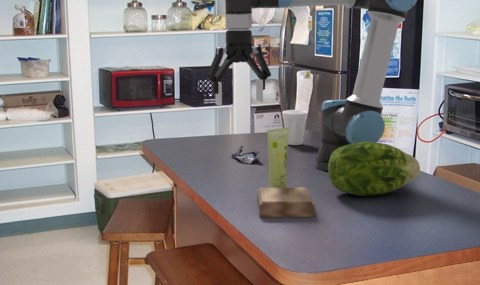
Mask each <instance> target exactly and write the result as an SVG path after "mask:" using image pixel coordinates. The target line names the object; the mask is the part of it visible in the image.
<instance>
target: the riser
mask: <svg viewBox="0 0 480 285" xmlns="http://www.w3.org/2000/svg"><path fill="white" fill-rule="evenodd" d="M256 190H257V193H256V194H257V196H256V197H257V199H256V200H257V208H258V213H259V214H258V215H259V218H313V217H314V215H315V214H314V213H315V212H314V211H315V203H314V201H313V198H312V196H311V194H310V192H309V190H308V188H306V187H300V186H299V187H295V186H294V187H286V188H269V187H259V188H257V189H256Z"/></svg>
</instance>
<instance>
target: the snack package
mask: <svg viewBox="0 0 480 285" xmlns="http://www.w3.org/2000/svg"><path fill="white" fill-rule="evenodd" d="M243 148H244V146H243V145H241V146H240V147H239V148H238V150H237V152H235V153H234V154H233V153H231V158H232V159H236V160H239V161H241V162H242V163H244V162H245V161H243V160H242V159H239V158H248V159H250V160H251V161H250V160H249V161H250V162H249V161H248V162H247V164H248V165H251V164H252V163H253V162H254V161H255V160H256V158H257V157H258V156H259V154H260V152H261V150H259V151H257V150H255V151H250V152H245V153H242V152H243ZM241 153H242V154H241ZM248 159H247V160H248Z"/></svg>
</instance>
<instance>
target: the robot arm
mask: <svg viewBox="0 0 480 285" xmlns="http://www.w3.org/2000/svg"><path fill="white" fill-rule="evenodd" d="M224 2H225V4H224V5H225V6H224V7H225V15H224V16H225V29H227V30H226V31H225V47H224V48H223V47H219V46H218V47H216V48H215V55H214V57H213V60H212V62H211V65H210V68H209V70H208V71H207V74H206V77H205V79H206V81H209V82H211V84H212V93H213V94H214V96H215V98H214V99H215V102H214V103H215V105H217V106H220V107H221V106H223V92H222V91H223V90H222V88H223V86H222V85H223V84H222V82H220V81H221V80H222V78H223V77H224V76H225V74H226V73H227V71H228V69H229V68H230V67H231V65H233V63H237V64H238V63H246V64H247V65H248V66H249V67H250V69H251V70H252V71H253V72H254V74H255V75H256V76H257V77H258V78H255V79H256V81H255V83H256V84H255V91H256V93H255V98H256V102H259V103H261V102H264V91H265V90H266V81H267V79H268V78H270V77H271V76H272V73H271V71H270V68H269V65H268V64H267V62H266V60H265V57H264V55H263V50H262V46H260V45H254V46H252V42H253V33H252V30H251V29H252V27H253V20H252V19H253V18H252V17H253V16H252V14H253V10H252V9H284V8H285V9H286V8H293V7H297V8H298V7H299V8H300V7H323V6H325V7H326V6H328V7H329V6H345V7H346V8H347V9H363V10H367V14H368V16H369V18H370V21H369V27H368V29H367V34H366V38H365V42H364V46H363V50H362V53H361V54H362V55H361V58H360V63H359V67H358V70H357V74H356V79H355V83H354V88H353V90H352V94H351V95H349V96H348V97H347V98H346V99H330V100H329V99H328V100H324V101H323V102H322V104H321V105H322V106H321V110H320V112H321V123H320V124H321V126H320V130H321V131H320V132H321V133H320V146H319V149H318V151H317V154H316V157H315V162H314V163H315V164H314V166H315V167H316V168H317V169H319V170H323V171H326V172H328V164H329V160H330V157H331V155H332V153H333V152H334V151H335V150H336V149H338V148H339V147H343V146H346V145H349V144H353V143H357V142H375V143H379V142H378V141H380V140H381V139H382V137H383V135H384V133H385V129H386V128H385V127H386V124H385V123H386V122H385V120H384V118H383V116H382V113H383V109H384V106H383V104H382V103H381V96H382V92H383V88H384V84H385V81H386V77H387V72H388V68H389V65H390V61H391V56H392V53H393V50H394V44H395V40H396V37H397V32H398V29H399V25H400V24H401V23H403V22H405V20H406V18H407V13H408V11H409V10H410V9H412V8H413V7H414V6H415V5H416V3H417V2H418V0H224ZM252 53H253V54H254V56H255V59H256V61H257V62H258V64H257V63H256V61H255V60H254V58H253V57H252ZM225 54H226V57H225V59H224V60H223V57H224V56H225ZM222 60H223V62H222ZM221 63H222V64H221ZM220 64H221V65H220ZM258 65H259V66H258Z"/></svg>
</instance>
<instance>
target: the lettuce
mask: <svg viewBox="0 0 480 285" xmlns="http://www.w3.org/2000/svg"><path fill="white" fill-rule="evenodd" d="M420 167H421V166H420V162H419V161H418V160H417V158H415V157H414V156H413V155H411V154H410V153H409V154H408V153H407V152H404V151H402V150H401V149H399V148H398V147H395V146H393V145H390V144H386V143H383V142H382V143H381V142H376V143H375V142H357V143H353V144H349V145H346V146H343V147H339V148H338V149H336V150H335V151H334V152H333V153H332V155H331V157H330V160H329V164H328V171H327V172H328V173H327V174H328V178H329V179H330V181H331V184H332V186H333V187H335V188H336V189H337V190H338V191H340V192H343V193H346V194H351V195H354V196H361V197H364V196H365V197H366V196H367V197H368V196H379V195H385V194H388V193H391V192H393V191H396V190H398V189H400V188H402V187H403V186H405V185H407V184H410V183H412V182H413V181H414V180H415V179H416V178H417V177H419V175H420V172H421V168H420Z"/></svg>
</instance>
